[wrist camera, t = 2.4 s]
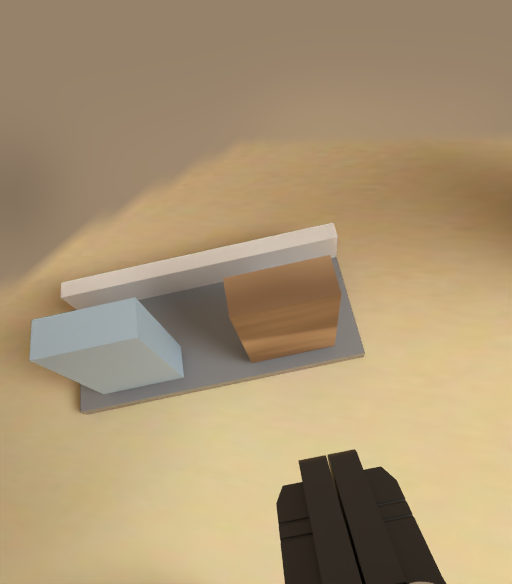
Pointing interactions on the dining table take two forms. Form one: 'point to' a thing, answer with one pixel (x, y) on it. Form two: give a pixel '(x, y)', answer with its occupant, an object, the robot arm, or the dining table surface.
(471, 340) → the dining table surface
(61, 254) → the dining table surface
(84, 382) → the light blue block
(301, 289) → the brown wooden block
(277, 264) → the base
